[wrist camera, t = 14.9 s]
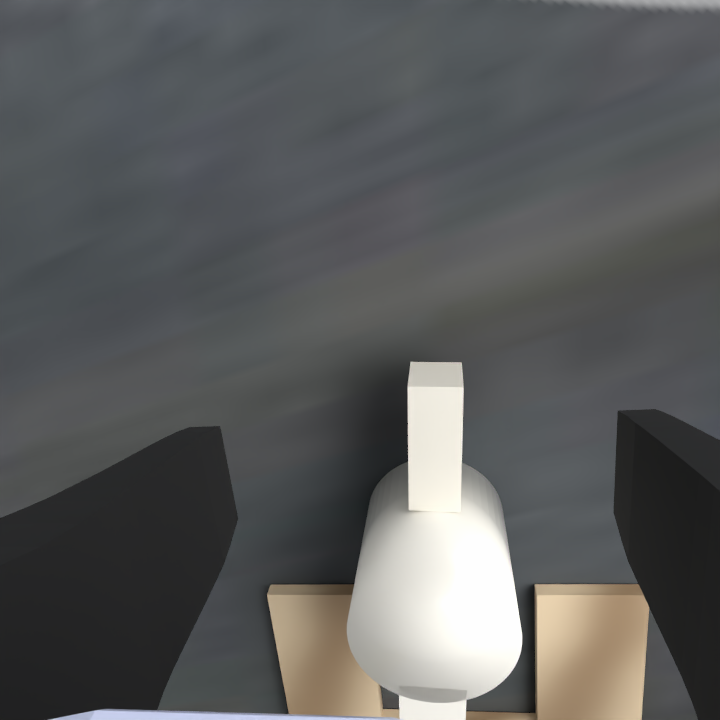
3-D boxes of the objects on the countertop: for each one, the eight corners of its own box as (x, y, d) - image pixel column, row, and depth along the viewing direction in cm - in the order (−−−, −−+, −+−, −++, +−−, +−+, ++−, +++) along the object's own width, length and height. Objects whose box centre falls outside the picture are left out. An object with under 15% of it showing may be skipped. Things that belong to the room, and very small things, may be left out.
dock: (644, 583, 24) (649, 595, 23) (631, 781, 27) (636, 795, 27) (270, 584, 26) (266, 594, 25) (304, 768, 29) (301, 780, 29)
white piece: (499, 591, 25) (515, 728, 19) (370, 584, 25) (350, 716, 20) (512, 348, 21) (537, 430, 16) (362, 346, 22) (336, 425, 16)
